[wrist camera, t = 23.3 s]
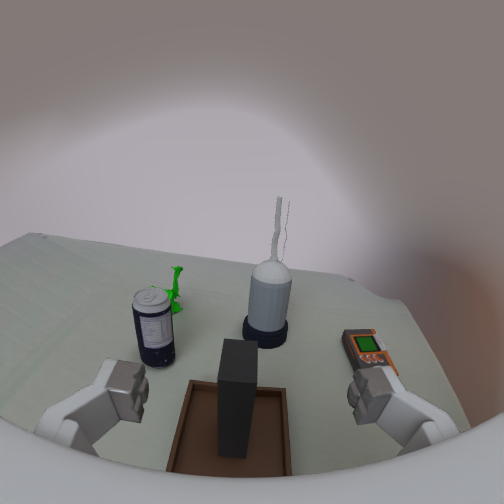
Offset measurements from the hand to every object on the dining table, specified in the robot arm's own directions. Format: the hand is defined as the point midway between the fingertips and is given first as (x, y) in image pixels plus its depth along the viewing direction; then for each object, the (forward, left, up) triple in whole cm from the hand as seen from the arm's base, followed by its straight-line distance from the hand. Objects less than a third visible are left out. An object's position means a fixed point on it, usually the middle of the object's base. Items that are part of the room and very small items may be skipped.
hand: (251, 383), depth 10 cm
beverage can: (+25, +14, -24) cm, 37 cm away
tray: (+11, +1, -24) cm, 26 cm away
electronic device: (+27, -21, -24) cm, 42 cm away
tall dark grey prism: (+11, +1, -23) cm, 26 cm away
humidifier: (+35, -3, -24) cm, 43 cm away
